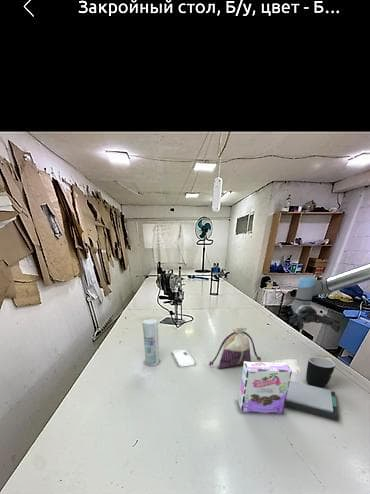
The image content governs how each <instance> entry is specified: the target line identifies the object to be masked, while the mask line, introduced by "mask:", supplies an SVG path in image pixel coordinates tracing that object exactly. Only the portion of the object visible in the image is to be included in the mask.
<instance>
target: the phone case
mask: <svg viewBox="0 0 370 494" xmlns="http://www.w3.org/2000/svg"><path fill="white" fill-rule="evenodd" d="M185 354H186V355H185ZM172 355H173V357H174V359H175V361H176V363H177V365H178V366H179V368H181V367H189V366H195V365H196V363H195V360H194V358H193V357H192V356H191V354H190V352H189V351H188V349H177V350H172Z"/></svg>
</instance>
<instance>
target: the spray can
mask: <svg viewBox="0 0 370 494" xmlns="http://www.w3.org/2000/svg"><path fill="white" fill-rule="evenodd" d="M142 330H143V331H142V333H143V346H144V360H145V364H146V365H147V366H156V365H158V364H159V363H160V347H159V346H160V345H159V344H160V343H159V321H158V319H154V318H148V319H145V320H143V321H142Z"/></svg>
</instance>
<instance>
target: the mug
mask: <svg viewBox="0 0 370 494" xmlns="http://www.w3.org/2000/svg"><path fill="white" fill-rule="evenodd" d="M335 369H336V363H335V362H334V361H333V360H331V359H329V358H327V357H322V356H311V357H309V359H308V360H307V365H306V373H305V380H306V381H305V382H306V383H307V384H306V385H310V386H314V387H319V388H323V389H325V387H326V386H327V385H328V383H329V382H330V381H331V378H332V376H333V374H334V372H335V371H334V370H335Z"/></svg>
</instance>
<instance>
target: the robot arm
mask: <svg viewBox="0 0 370 494" xmlns="http://www.w3.org/2000/svg"><path fill="white" fill-rule="evenodd" d="M367 282H370V262H368V263H365V264H363V265H362V264H361V265H360V266H357V267H354V268H351V269H348V270H346V271H344V272H340V273H337V274H334V275H332V276H329V277H325V278H323V279H317V278H316V277H314V276H301V277H300V278H299V281H298V283H297V289H296V294H295V298H294V301H293V302H292V303H291V310H292V312H293V315H291V316H290V317H289V322H288V323H289V324H293V326H295V327H298V328H299V330H301V331H303V329H304V325H305V324H309V323H315V324H322V325H326V326H328V327H330V328H331V329H332V330H333V331H334V332H335V333H339V332H340V329H341V325H340V324H341V322H342V321H341V320H339V319H337V318H334V317H331V316H329V315H327V314H322V315H320V314H318V312H317V310H316V309H314V308H313V307H312V306H311V303H312V300H313V297H314V296H321V295H329V294H331V293H333V292H336V291H339V290H342V289H347V288H351V287H354V286H357V285H360V284H364V283H367Z"/></svg>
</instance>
